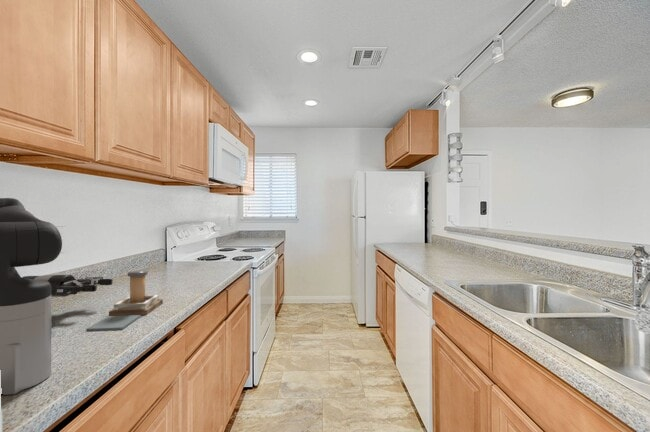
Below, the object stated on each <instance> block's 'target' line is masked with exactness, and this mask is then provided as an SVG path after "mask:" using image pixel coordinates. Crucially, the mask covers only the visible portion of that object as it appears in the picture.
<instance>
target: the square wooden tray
mask: <svg viewBox="0 0 650 432" xmlns="http://www.w3.org/2000/svg"><path fill="white" fill-rule="evenodd" d="M145 300H147V301H145V302H144V303H129V302H130V295H129V296H127V297H126V298H123V299H122V300H120V301H118V302H116V303H115V304H113V308H112V309H111V310H109V311H108V316H130V315H141V316H144V315H145V316H146V315H149V314H150V313H151V312H153V311H155V309H157V308H158V307H160V306H161V305H162V304H164V303H163V302H164V300H163V299H162V298H161V299H160V295H159V294H149V295H146V294H145Z"/></svg>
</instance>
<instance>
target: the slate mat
mask: <svg viewBox="0 0 650 432" xmlns="http://www.w3.org/2000/svg"><path fill="white" fill-rule="evenodd" d="M141 317H142V315H120V316H109V315H108V316H106V317H104V318H103V319H100V321H97V322H96V323H94V324H92V325H91V326H89V327H87V328H86V331H87V332H90V331H91V332H92V331H115V330H121V331H122V330H124V329H126V328H127V327H129V326H130V325H131V324H133V323H134V322H136V321H137V320H139V319H140V318H141Z"/></svg>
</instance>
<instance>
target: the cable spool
mask: <svg viewBox="0 0 650 432" xmlns="http://www.w3.org/2000/svg"><path fill="white" fill-rule="evenodd" d="M148 273H149V272H148V270H145V269H140V270H139V269H138V270H132V271H128V272H127V277H129V296H130V302H129V303H144V302H145V301H147V300H145V295H146V275H148Z"/></svg>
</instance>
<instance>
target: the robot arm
mask: <svg viewBox="0 0 650 432" xmlns="http://www.w3.org/2000/svg"><path fill="white" fill-rule="evenodd" d="M62 249H63V240H62V235H61V232H60V231H59V229H58V227H56V225H55V224H53V223H51V222H49V221H45V220H41V219H39V218H38V217H36V216H35V215H34V214H33V213H31V212H30V211H28V210H26V208H25V206H24V204H23V203H22V202H21V201H20V200H19V199H17V198H14V197H13V198H12V197H0V370H1V388H2V394H3V395H2V396H4V395H5V396H8V395H9V396H10V395H16V394H18V393H20V392H21V391H23V390H26V389H29V388H31V387H33V386H36V385H39V384H40V383H42V382H44V381H45V380H47V378H49V377H50V376H51V374H52V298H57V297H58V298H59V297H60V298H61V297H62V298H63V297H69V296H70V295H77V294H79V293H80V294H81V293H90V292H91V293H92V292H93V293H95V292H97V290H98V287H97V286H99V287H100V286H111V285H113V284H114V283H113V278H104V277H103V276H95V277H94V276H92V277H84V278H82V277H81V278H77V279H76V277H75V276H73V275H72V274H45V275H44V274H43V275H26V276H25V275H24V276H22V277H21V275H20V273H19V272H18V270H17V269H16V268H18V267H19V268H21V267H29V266H31V267H32V266H39V265H44V264H48V263H52V262H54V261H55V260H56V259H57V258H58V257H59V256H60V254H61V251H62Z"/></svg>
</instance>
